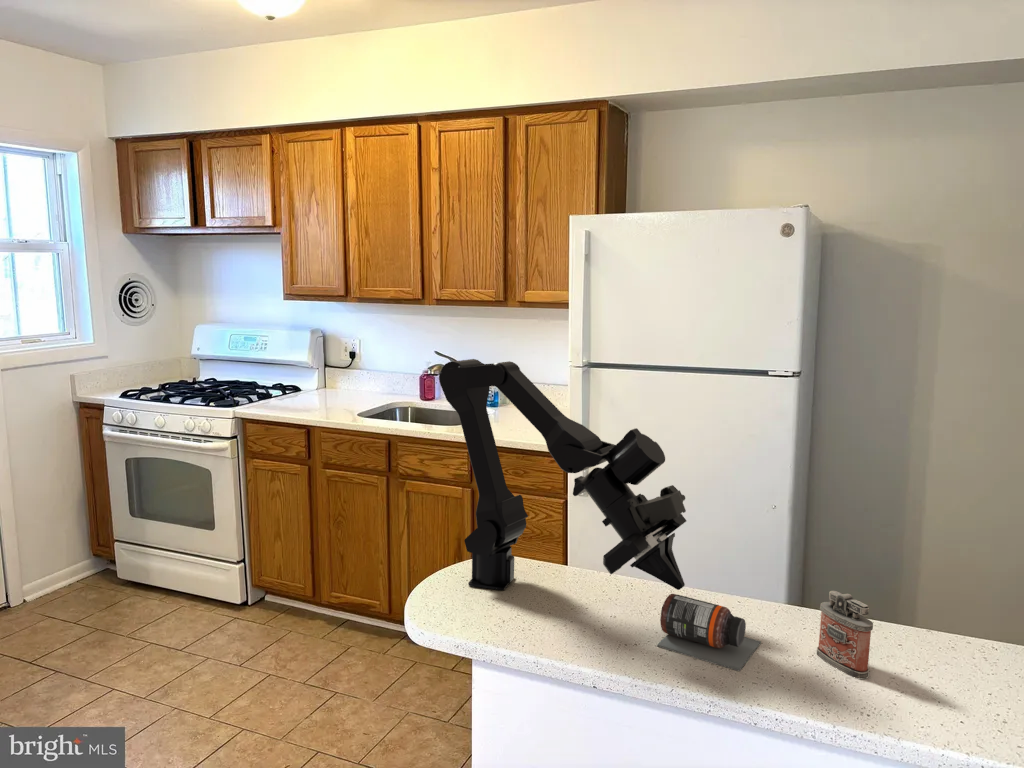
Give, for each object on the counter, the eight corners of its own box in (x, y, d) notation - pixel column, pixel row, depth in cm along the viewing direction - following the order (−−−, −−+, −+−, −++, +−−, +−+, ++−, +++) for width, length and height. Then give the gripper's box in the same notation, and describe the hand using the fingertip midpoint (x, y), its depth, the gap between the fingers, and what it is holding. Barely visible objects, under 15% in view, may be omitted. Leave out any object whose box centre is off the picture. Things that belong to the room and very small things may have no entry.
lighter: (810, 653, 108) (815, 586, 107) (828, 649, 110) (833, 583, 108) (856, 680, 101) (862, 609, 100) (874, 676, 102) (881, 605, 101)
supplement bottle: (676, 608, 117) (749, 628, 111) (662, 640, 113) (737, 663, 107) (670, 584, 113) (746, 603, 107) (656, 616, 110) (733, 638, 103)
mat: (657, 646, 109) (657, 644, 109) (682, 621, 118) (682, 619, 118) (739, 671, 103) (739, 669, 103) (760, 643, 111) (760, 641, 111)
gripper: (626, 484, 105) (698, 579, 100) (677, 460, 120) (742, 541, 115) (574, 528, 110) (641, 620, 105) (629, 499, 125) (690, 578, 121)
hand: (681, 587), depth 112 cm, fingers closed
